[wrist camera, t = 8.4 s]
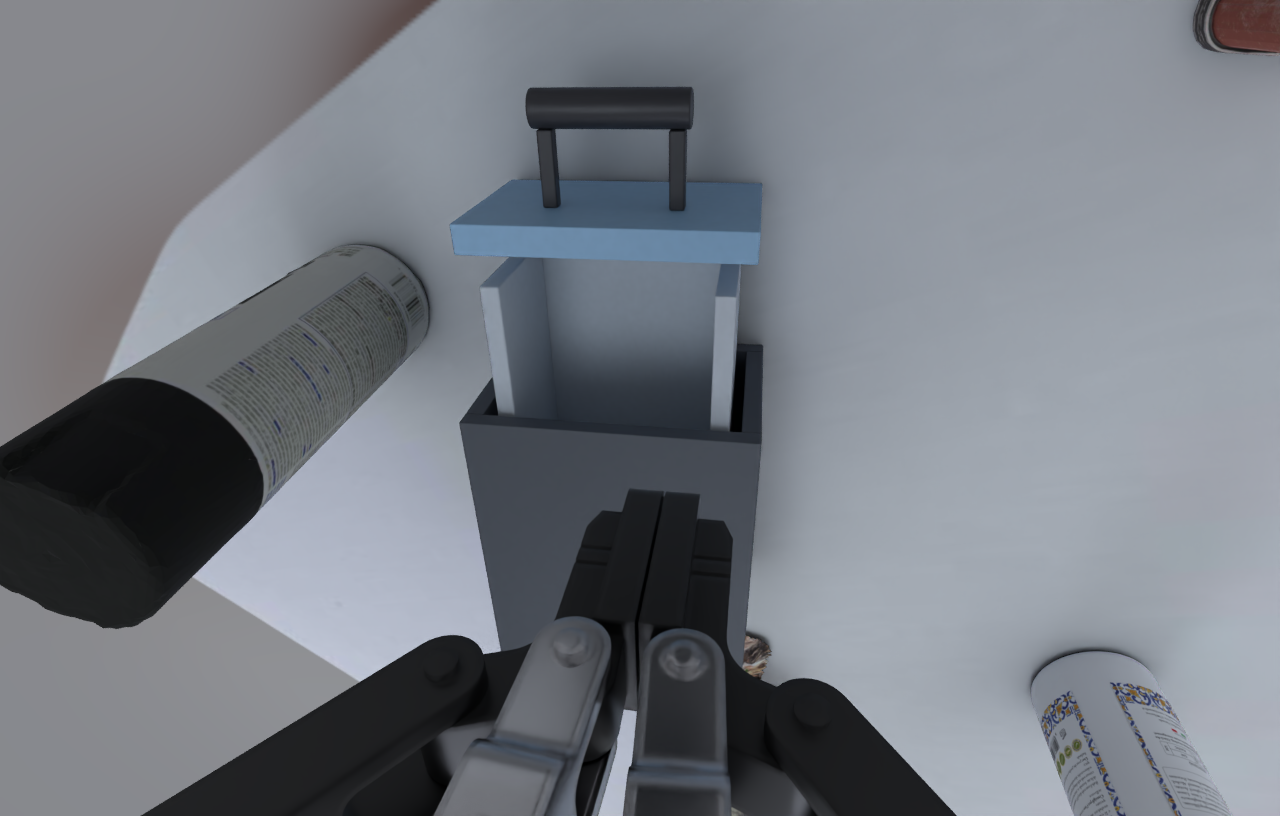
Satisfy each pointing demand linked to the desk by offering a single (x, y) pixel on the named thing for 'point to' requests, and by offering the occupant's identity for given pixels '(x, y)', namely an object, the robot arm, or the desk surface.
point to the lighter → (1238, 26)
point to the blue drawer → (614, 275)
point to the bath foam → (1119, 740)
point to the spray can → (198, 437)
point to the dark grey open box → (601, 494)
